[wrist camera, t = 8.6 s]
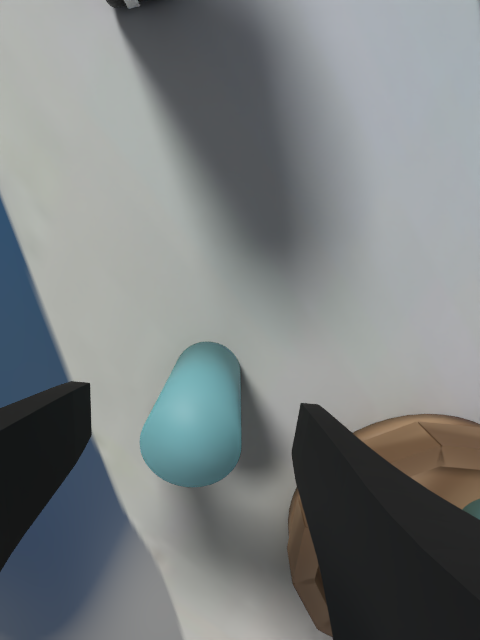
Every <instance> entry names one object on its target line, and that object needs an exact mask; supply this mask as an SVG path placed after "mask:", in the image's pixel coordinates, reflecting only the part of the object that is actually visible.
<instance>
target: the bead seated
mask: <svg viewBox="0 0 480 640" xmlns="http://www.w3.org/2000/svg"><path fill="white" fill-rule="evenodd" d="M462 510H464V511H465V512H467V513H469V514H471V515H472V516H474V517H476V518H477V519H479V520H480V499H477V500H475V501H473V502H471V503H469V504H468V505H467V506H465V507H464V508H463V509H462Z"/></svg>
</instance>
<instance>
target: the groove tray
mask: <svg viewBox="0 0 480 640" xmlns="http://www.w3.org/2000/svg"><path fill="white" fill-rule="evenodd" d="M353 434H354V435H355V436H356V437H358V438H359V439H360V440H361V441H362V442H364V443H365V444H366V445H367V446H369V447H370V448H371V449H372V450H374V451H375V452H376V453H378V454H379V455H380V456H381V457H383V458H384V459H385V460H387V461H388V462H389V463H391V464H392V465H393V466H395V467H396V468H398V469H399V470H400V471H402V472H403V473H405V474H406V475H408V476H409V477H411V478H412V479H414V480H415V481H417V482H418V483H420V484H421V485H423V486H424V487H426V488H427V489H429V490H430V491H432V492H433V493H435V494H437V495H438V496H440V497H442V498H443V499H445V500H446V501H448V502H450V503H452V504H453V505H455V506H457V507H458V508H460V509H463V508H464V507H465V506H467V505H468V504H469V503H471V502H473V501H475V500H477V499H480V424H478V423H476V422H473V421H470V420H466V419H463V418H459V417H454V416H447V415H438V414H419V415H407V416H401V417H396V418H391V419H387V420H384V421H381V422H377V423H374V424H371V425H369V426H367V427H364V428H362V429H360V430H357V431H355V432H354V433H353ZM288 530H289V541H288V546H287V551H288V557H289V564H290V570H291V576H292V582H293V585H294V587H295V589H296V591H297V593H298V595H299V597H300V598H301V600H302V602H303V604H304V606H305V608H306V609H307V611H308V613H309V615H310V617H311V619H312V621H313V622H314V624H315V626H316V628H317V629H318V630H320V631H321V632H323V633H325V634H327V635H329V636H331V637H333V635H332V630H331V624H330V619H329V613H328V608H327V603H326V598H325V592H324V587H323V582H322V577H321V572H320V568H319V564H318V560H317V556H316V552H315V549H314V545H313V542H312V538H311V535H310V531H309V528H308V524H307V520H306V517H305V513H304V510H303V506H302V503H301V499H300V495H299V492H298V488H296V491H295V493H294V495H293V498H292V501H291V505H290V508H289V517H288Z"/></svg>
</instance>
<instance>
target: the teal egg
mask: <svg viewBox="0 0 480 640" xmlns="http://www.w3.org/2000/svg"><path fill="white" fill-rule="evenodd" d="M140 449H141V453H142V456H143V459H144V461H145V462H146V464H147V465H148V467H149V468H150V469H151V470H152V471H153V472H154V473H155V474H156V475H157V476H159V477H160V478H162V479H163V480H165V481H167V482H169V483H172V484H175V485H178V486H183V487H202V486H207V485H210V484H213V483H216V482H218V481H220V480H221V479H223V478H224V477H226V476H227V475H228V474H229V473H230V472H231V471H232V470H233V469H234V467H235V466H236V464H237V462H238V460H239V457H240V454H241V382H240V366H239V362H238V360H237V358H236V356H235V355H234V354H233V353H232V352H231V351H230V350H229V349H228V348H226V347H225V346H223V345H221V344H218V343H214V342H200V343H196V344H194V345H192V346H190V347H188V348H187V349H186V350H185V351H184V352H183V353H182V354H181V355H180V357H179V359H178V361H177V363H176V364H175V366H174V368H173V370H172V372H171V374H170V376H169V378H168V380H167V382H166V384H165V386H164V388H163V390H162V392H161V393H160V395H159V397H158V399H157V401H156V403H155V405H154V407H153V409H152V411H151V413H150V415H149V417H148V419H147V421H146V422H145V424H144V427H143V429H142V432H141V435H140Z"/></svg>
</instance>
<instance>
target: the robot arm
mask: <svg viewBox="0 0 480 640" xmlns="http://www.w3.org/2000/svg"><path fill="white" fill-rule="evenodd" d="M90 437H91V401H90V383H84V382H73V381H71V382H68V383H64V384H61V385H59V386H56V387H53V388H50V389H48V390H46V391H43V392H40V393H38V394H35V395H33V396H30V397H28V398H25V399H22V400H20V401H18V402H15V403H12V404H10V405H7V406H5V407H2V408H0V571H1V570H2V568H3V566H4V565H5V563H6V562H7V560H8V558H9V557H10V555H11V553H12V552H13V551H14V549H15V548H16V546H17V545H18V543H19V542H20V540H21V539H22V537H23V536H24V534H25V533H26V532H27V530H28V529H29V528H30V526H31V525H32V523H33V522H34V521H35V519H36V518H37V516H38V515H39V514H40V513H41V511H42V510H43V508H44V507H45V506H46V504H47V503H48V502H49V500H50V499H51V498H52V496H53V495H54V493H55V492H56V491H57V489H58V488H59V486H60V485H61V484H62V482H63V481H64V480H65V478H66V477H67V475H68V474H69V473H70V471H71V470H72V469H73V467H74V466H75V464H76V463H77V461H78V459H79V457H80V456H81V454H82V452H83V450H84V449H85V447H86V445H87V443H88V441H89V439H90ZM292 460H293V467H294V473H295V479H296V484H297V488H298V492H299V495H300V499H301V503H302V506H303V510H304V513H305V517H306V520H307V524H308V528H309V531H310V535H311V538H312V542H313V545H314V549H315V552H316V556H317V560H318V564H319V568H320V572H321V577H322V582H323V587H324V592H325V598H326V603H327V608H328V613H329V619H330V624H331V630H332V635H333V640H480V520H479V519H477V518H476V517H474V516H472V515H471V514H469V513H467V512H465V511H464V510H462V509H460V508H458V507H457V506H455V505H453V504H452V503H450V502H448V501H446V500H445V499H443V498H442V497H440V496H438V495H437V494H435V493H433V492H432V491H430V490H429V489H427V488H426V487H424V486H423V485H421V484H420V483H418V482H417V481H415V480H414V479H412V478H411V477H409V476H408V475H406V474H405V473H403V472H402V471H400V470H399V469H398V468H396V467H395V466H393V465H392V464H391V463H389V462H388V461H387V460H385V459H384V458H383V457H381V456H380V455H379V454H378V453H376V452H375V451H374V450H372V449H371V448H370V447H369V446H367V445H366V444H365V443H364V442H362V441H361V440H360V439H359V438H358V437H356V436H355V435H354V434H353V433H352V432H350V431H349V430H348V429H347V428H346V427H345V426H343V425H342V424H341V423H340V422H339V421H338V420H337V419H335V418H334V417H333V416H332V415H331V414H330V413H328V412H327V411H326V410H325V409H324V408H322V407H321V406H320V405H317V404H307V403H301V405H300V410H299V416H298V421H297V426H296V432H295V437H294V442H293V448H292Z"/></svg>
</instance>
